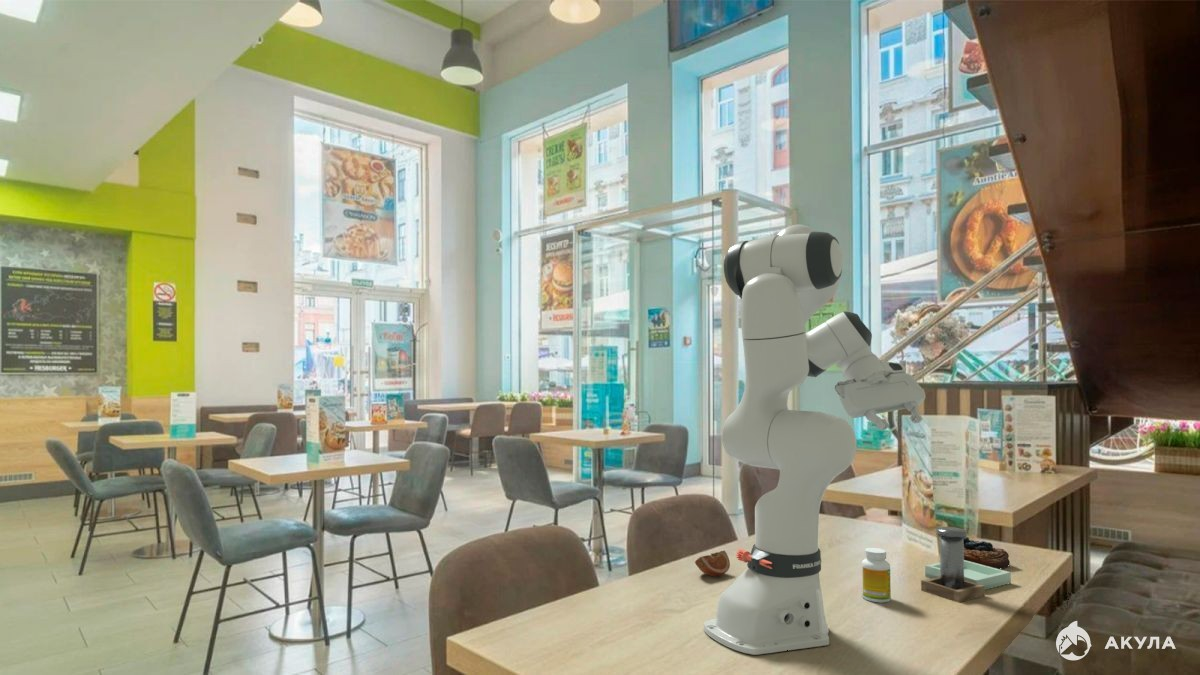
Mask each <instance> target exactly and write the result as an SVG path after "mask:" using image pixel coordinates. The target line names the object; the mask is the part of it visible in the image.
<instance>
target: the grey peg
mask: <svg viewBox="0 0 1200 675" xmlns="http://www.w3.org/2000/svg"><path fill="white" fill-rule="evenodd" d="M936 534H937V535H939V561H940V562H939V563H940V577H941V585H943V586H946V587H949V588H952V589H956V590H959V589H963V588H964V540H963V538H965V537H967V534H968V531H967V530H966V529H964V528H960V527H953V526H937V527H936Z"/></svg>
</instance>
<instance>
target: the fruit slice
mask: <svg viewBox="0 0 1200 675" xmlns="http://www.w3.org/2000/svg"><path fill="white" fill-rule="evenodd" d="M729 558H730V557H729V556H728V553H727V552H726V550H721V551H718V552H717V551H716V552H714V553H710V555H709V554H708V555H702V556H699V558H697V559H696V560H695V562H694V563H695V565H696V567H697V568H698V569H699V570H700V571H701V572H702V573H703V574H705V575H707V576H710V577H721V576H723V575H725V574H726V573H727V572H728V571H729V569H730V566H731V562H730V559H729Z"/></svg>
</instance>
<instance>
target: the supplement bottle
mask: <svg viewBox="0 0 1200 675" xmlns="http://www.w3.org/2000/svg"><path fill="white" fill-rule="evenodd" d="M864 555H865V558H864V559H863V560H862V561H861V595H862V598H863V599H865V600H866V601H869V602H872V603H889V602H890V601H891V565H890V563H889V562H888V561H887V560H886V559H887V551H886V550H885V549H883V548H879V547H878V548H877V547H867V548H865V549H864Z"/></svg>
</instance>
